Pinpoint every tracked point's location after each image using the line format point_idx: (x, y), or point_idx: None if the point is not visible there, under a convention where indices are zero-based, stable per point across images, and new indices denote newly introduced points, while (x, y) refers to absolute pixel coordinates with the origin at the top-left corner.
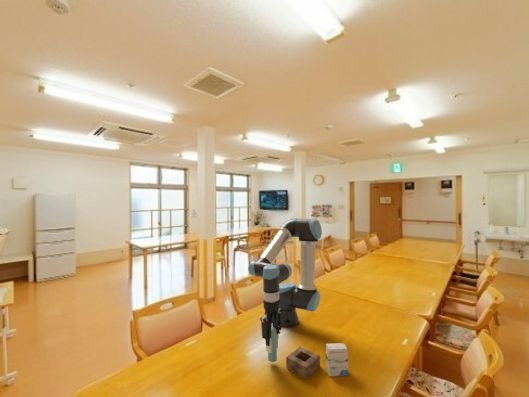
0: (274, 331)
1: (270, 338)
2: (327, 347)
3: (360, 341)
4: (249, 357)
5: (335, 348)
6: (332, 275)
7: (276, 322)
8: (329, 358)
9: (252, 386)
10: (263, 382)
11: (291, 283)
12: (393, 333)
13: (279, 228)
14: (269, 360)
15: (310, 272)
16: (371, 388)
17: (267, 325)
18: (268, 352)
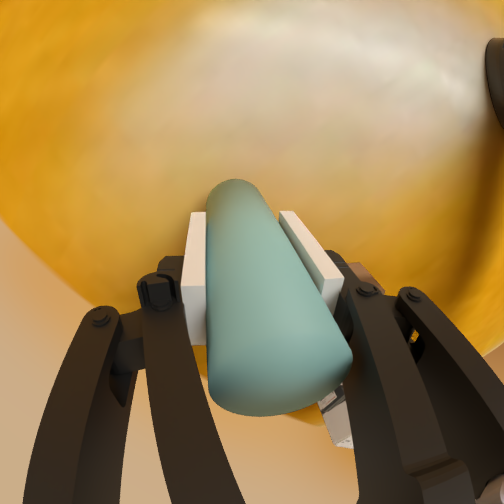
0: (259, 413)
1: (198, 338)
2: (345, 437)
3: (465, 325)
4: (187, 49)
5: (346, 446)
6: None
7: (365, 469)
8: (324, 419)
9: (54, 240)
10: (100, 256)
11: None
12: (484, 340)
13: None
14: (206, 206)
15: None
16: (313, 417)
17: (176, 488)
18: (208, 214)
